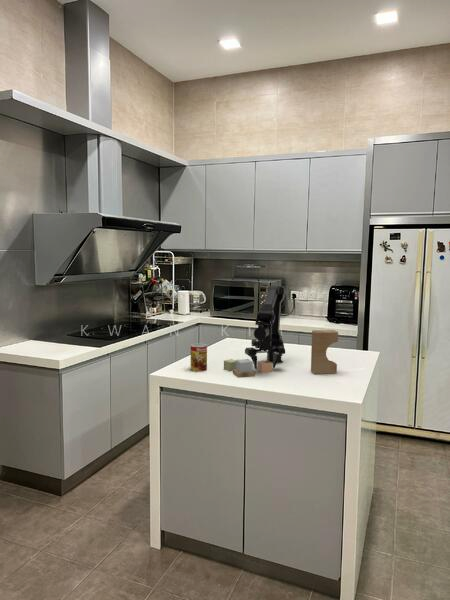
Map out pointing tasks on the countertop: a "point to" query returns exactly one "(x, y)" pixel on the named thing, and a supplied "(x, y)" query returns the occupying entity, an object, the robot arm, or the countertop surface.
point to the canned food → (198, 357)
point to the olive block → (229, 365)
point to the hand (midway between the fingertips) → (264, 368)
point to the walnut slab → (243, 374)
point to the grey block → (244, 365)
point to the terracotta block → (264, 366)
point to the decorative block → (322, 351)
